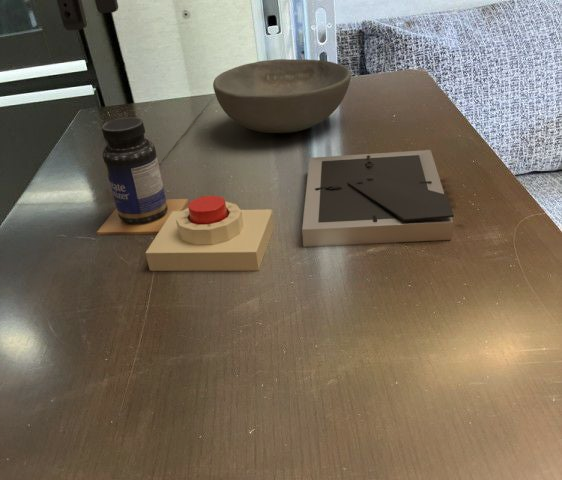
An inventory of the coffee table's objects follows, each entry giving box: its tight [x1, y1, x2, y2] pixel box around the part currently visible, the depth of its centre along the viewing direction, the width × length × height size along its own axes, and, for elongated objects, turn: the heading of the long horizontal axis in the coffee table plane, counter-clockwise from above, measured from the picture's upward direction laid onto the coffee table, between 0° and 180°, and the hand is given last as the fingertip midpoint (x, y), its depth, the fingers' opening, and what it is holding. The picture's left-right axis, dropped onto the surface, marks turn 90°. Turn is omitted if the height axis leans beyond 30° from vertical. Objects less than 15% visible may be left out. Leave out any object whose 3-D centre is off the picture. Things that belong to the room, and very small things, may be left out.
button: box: [187, 195, 228, 225], centre depth 67 cm, size 4×4×2 cm
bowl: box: [212, 58, 352, 134], centre depth 97 cm, size 21×21×8 cm
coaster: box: [96, 198, 190, 236], centre depth 77 cm, size 9×9×1 cm
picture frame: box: [301, 149, 455, 248], centre depth 74 cm, size 16×3×21 cm
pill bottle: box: [101, 116, 168, 224], centre depth 74 cm, size 6×6×11 cm
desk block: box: [144, 201, 275, 272], centre depth 68 cm, size 12×10×4 cm
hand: (93, 20), depth 65 cm, fingers open, 8 cm apart
